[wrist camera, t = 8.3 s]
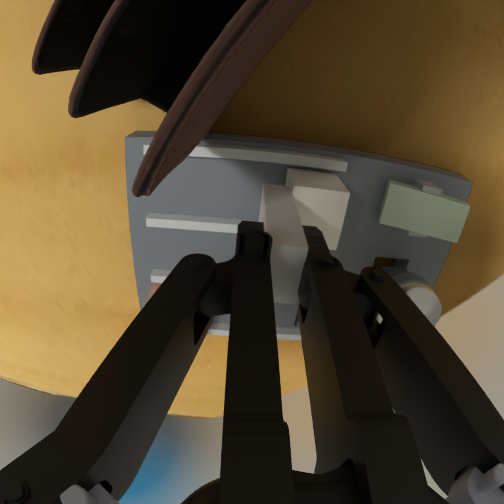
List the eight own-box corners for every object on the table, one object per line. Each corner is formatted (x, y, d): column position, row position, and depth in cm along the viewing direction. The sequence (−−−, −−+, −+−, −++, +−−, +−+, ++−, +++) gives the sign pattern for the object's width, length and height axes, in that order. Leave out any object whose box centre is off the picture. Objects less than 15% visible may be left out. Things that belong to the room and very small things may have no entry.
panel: (147, 304, 27) (134, 341, 23) (135, 131, 19) (108, 146, 16) (402, 319, 28) (418, 353, 25) (459, 173, 21) (492, 196, 17)
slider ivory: (280, 220, 20) (284, 245, 18) (287, 167, 19) (293, 185, 16) (325, 224, 21) (336, 250, 18) (336, 173, 19) (350, 192, 16)
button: (354, 301, 24) (369, 345, 20) (371, 250, 21) (394, 291, 17) (404, 303, 24) (424, 343, 20) (424, 255, 21) (452, 293, 18)
